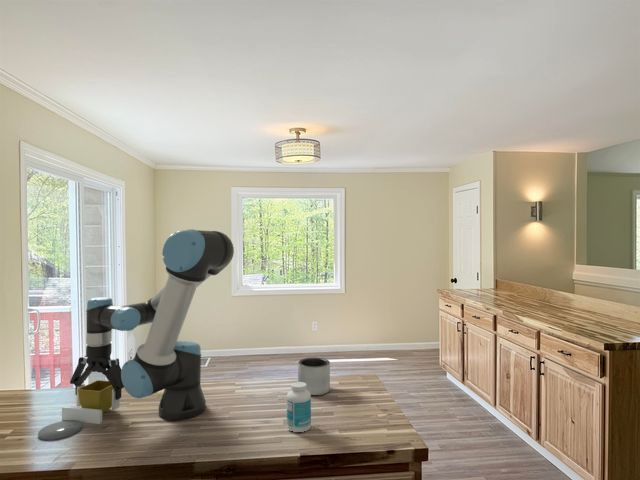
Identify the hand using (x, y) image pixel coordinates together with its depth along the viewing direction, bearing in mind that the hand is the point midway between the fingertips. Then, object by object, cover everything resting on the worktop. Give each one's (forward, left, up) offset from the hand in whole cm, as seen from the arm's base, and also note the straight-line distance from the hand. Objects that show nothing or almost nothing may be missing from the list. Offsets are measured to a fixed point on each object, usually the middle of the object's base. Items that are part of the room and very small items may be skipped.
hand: (97, 406), depth 131 cm
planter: (-67, -34, -2) cm, 75 cm away
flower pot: (0, 0, -2) cm, 2 cm away
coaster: (+1, +14, -2) cm, 14 cm away
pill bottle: (-69, -3, -2) cm, 69 cm away
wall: (0, +7, -2) cm, 7 cm away
